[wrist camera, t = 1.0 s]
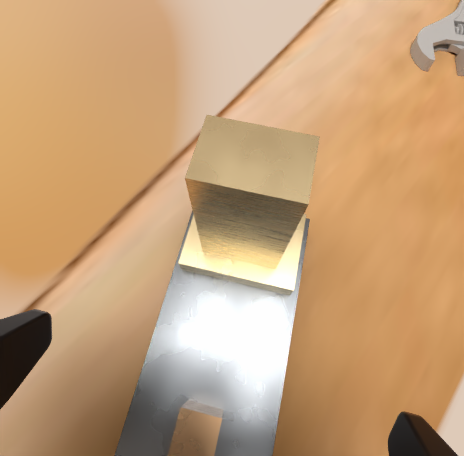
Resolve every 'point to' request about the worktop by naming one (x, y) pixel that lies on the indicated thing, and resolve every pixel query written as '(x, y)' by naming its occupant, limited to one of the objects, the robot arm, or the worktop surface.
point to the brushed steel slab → (212, 369)
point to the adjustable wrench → (441, 40)
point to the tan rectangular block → (248, 203)
